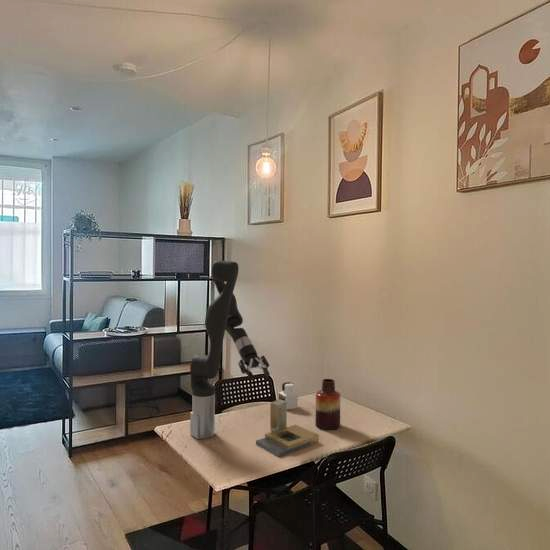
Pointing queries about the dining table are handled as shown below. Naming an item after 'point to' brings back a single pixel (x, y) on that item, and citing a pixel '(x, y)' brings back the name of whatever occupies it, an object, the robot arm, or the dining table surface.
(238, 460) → the dining table surface
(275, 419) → the skincare box
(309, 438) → the tan flat frame
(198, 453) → the dining table surface
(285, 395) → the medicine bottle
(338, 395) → the vase
